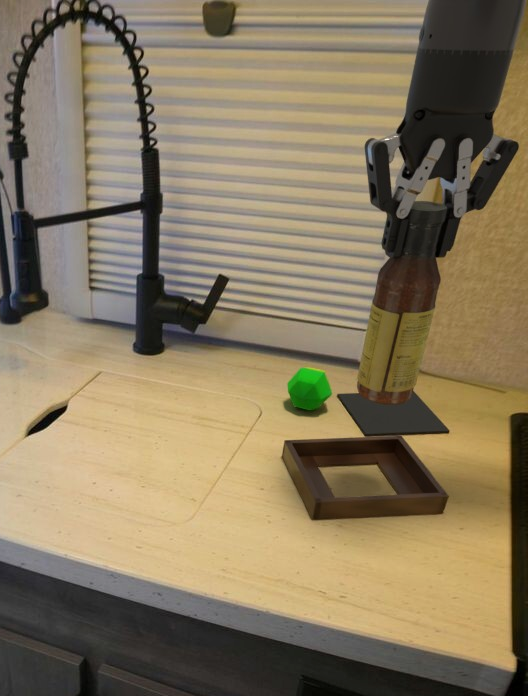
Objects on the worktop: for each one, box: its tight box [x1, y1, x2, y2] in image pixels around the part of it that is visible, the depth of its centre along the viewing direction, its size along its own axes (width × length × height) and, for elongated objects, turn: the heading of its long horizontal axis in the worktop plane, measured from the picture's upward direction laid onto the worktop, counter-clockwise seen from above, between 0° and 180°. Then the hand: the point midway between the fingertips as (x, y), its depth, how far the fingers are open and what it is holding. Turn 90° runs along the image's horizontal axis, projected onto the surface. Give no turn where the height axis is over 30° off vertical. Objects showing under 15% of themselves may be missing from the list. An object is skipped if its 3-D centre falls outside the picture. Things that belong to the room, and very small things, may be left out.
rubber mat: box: [336, 390, 451, 437], centre depth 96 cm, size 12×12×1 cm
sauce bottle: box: [356, 200, 447, 405], centre depth 69 cm, size 7×6×20 cm
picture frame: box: [281, 435, 450, 521], centre depth 81 cm, size 16×14×2 cm
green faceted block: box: [286, 366, 333, 411], centre depth 97 cm, size 7×6×9 cm
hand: (414, 255), depth 66 cm, fingers closed on sauce bottle, 4 cm apart
